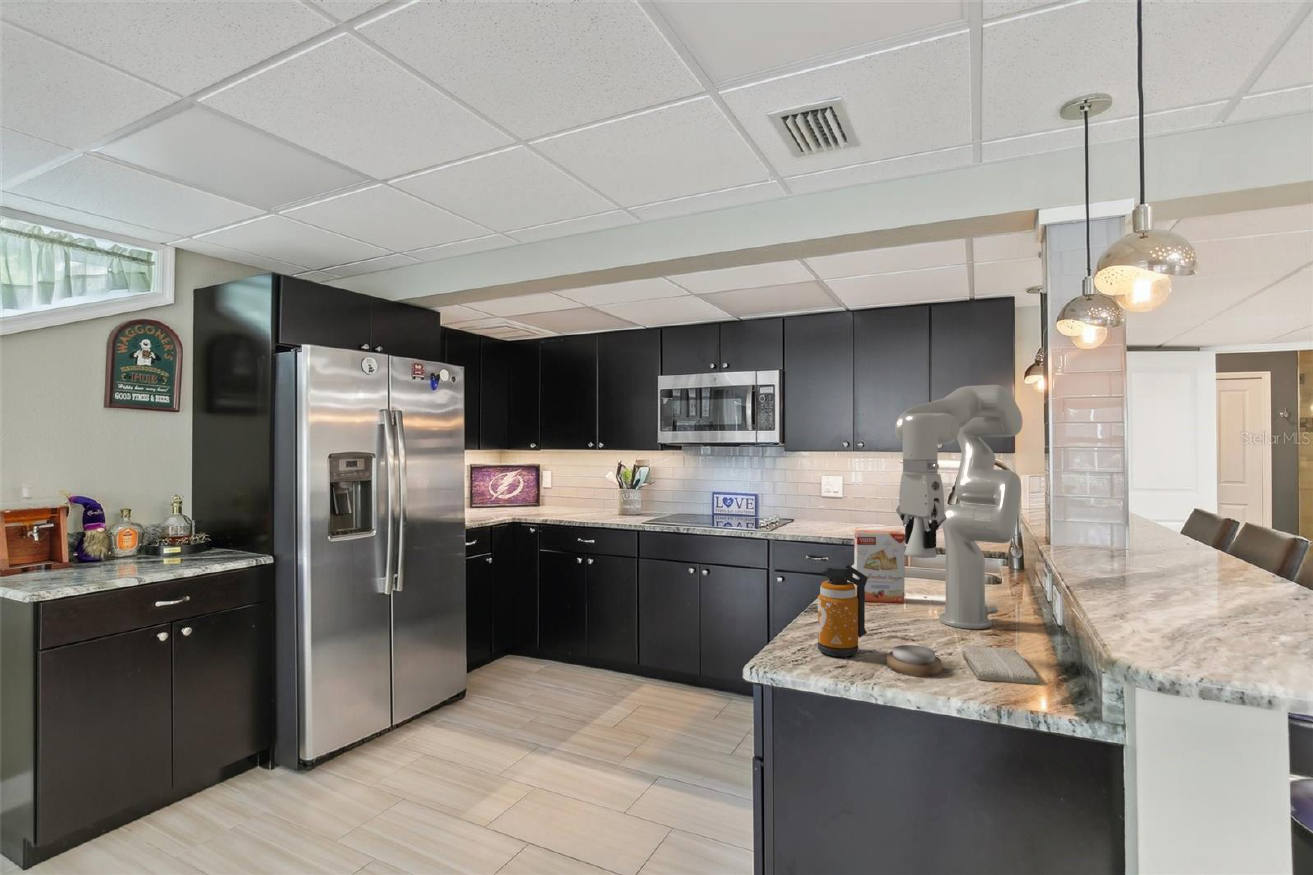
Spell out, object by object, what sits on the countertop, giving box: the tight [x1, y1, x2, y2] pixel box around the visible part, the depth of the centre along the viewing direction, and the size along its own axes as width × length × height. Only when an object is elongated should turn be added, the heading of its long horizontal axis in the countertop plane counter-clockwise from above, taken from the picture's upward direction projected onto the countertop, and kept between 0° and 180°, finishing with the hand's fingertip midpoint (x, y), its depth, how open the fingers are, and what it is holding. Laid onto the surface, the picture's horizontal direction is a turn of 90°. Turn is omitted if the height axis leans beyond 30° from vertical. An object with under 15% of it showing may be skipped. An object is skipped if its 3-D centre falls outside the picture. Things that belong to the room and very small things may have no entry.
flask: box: [904, 516, 938, 559], centre depth 155 cm, size 7×7×10 cm
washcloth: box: [961, 644, 1040, 685], centre depth 145 cm, size 12×18×3 cm, turn 168°
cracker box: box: [853, 529, 906, 604], centre depth 203 cm, size 14×6×21 cm, turn 81°
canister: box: [817, 564, 868, 658], centre depth 155 cm, size 9×11×20 cm
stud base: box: [886, 644, 942, 678], centre depth 145 cm, size 11×11×4 cm
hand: (920, 545), depth 156 cm, fingers closed on flask, 5 cm apart
